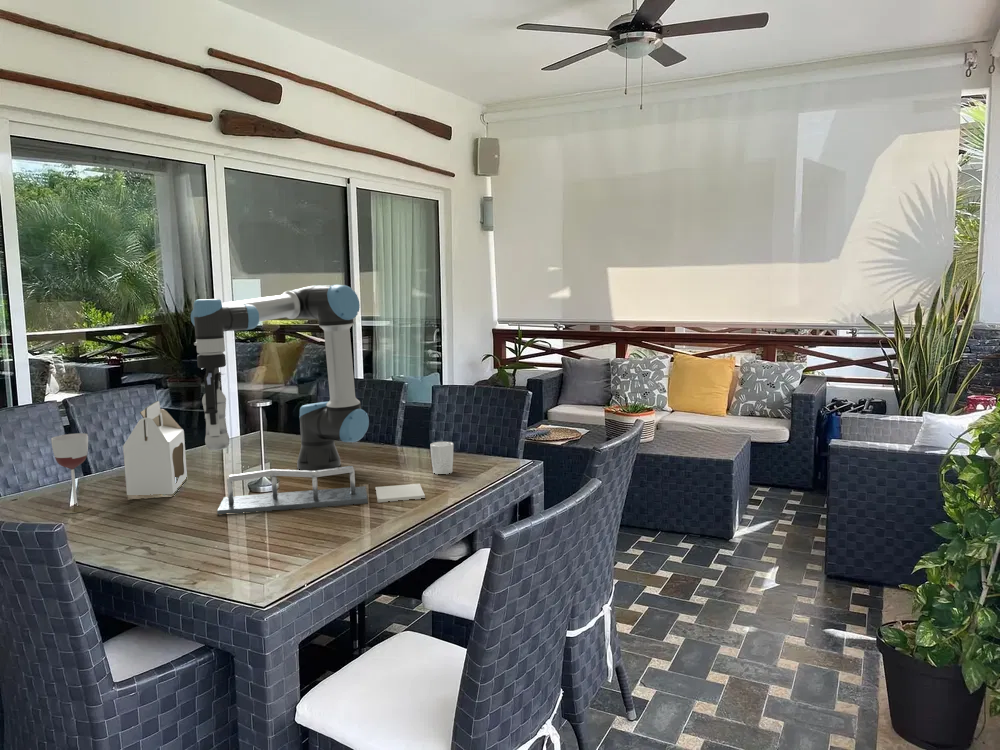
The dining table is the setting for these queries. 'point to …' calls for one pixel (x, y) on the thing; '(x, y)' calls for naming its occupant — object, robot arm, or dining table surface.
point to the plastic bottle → (223, 439)
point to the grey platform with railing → (292, 498)
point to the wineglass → (70, 453)
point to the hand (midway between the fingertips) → (216, 433)
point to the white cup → (442, 457)
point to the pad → (399, 492)
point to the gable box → (155, 454)
